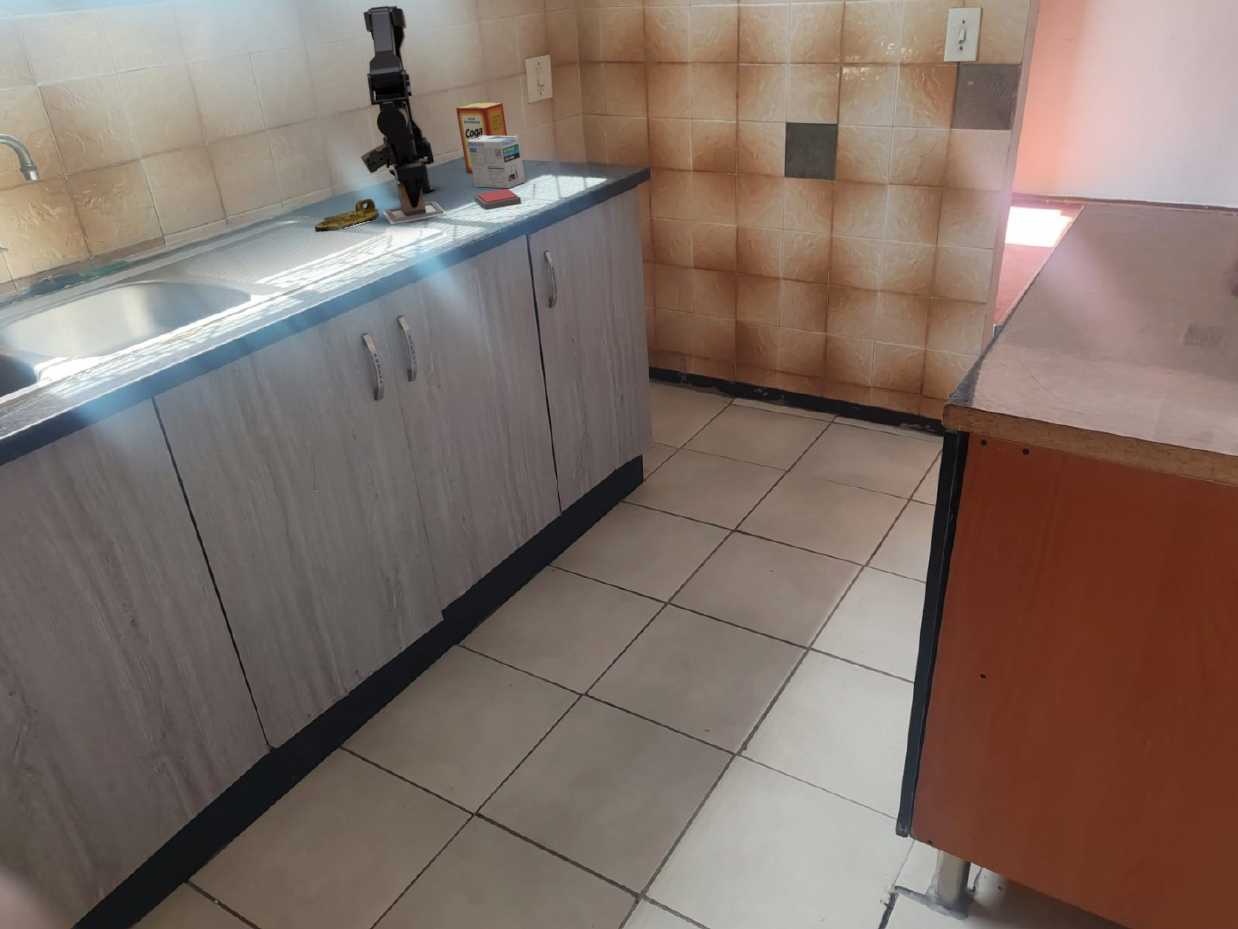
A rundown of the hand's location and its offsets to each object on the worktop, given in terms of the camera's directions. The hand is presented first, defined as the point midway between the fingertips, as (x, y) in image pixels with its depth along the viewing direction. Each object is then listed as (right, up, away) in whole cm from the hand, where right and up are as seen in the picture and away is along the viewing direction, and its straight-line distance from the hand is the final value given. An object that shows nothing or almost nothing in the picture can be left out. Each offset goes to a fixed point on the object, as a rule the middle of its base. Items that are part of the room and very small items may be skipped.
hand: (412, 205), depth 201 cm
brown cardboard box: (0, -1, +1) cm, 2 cm away
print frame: (0, -2, +1) cm, 2 cm away
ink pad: (+18, +2, +3) cm, 18 cm away
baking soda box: (+12, +18, +34) cm, 41 cm away
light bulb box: (+17, +10, +19) cm, 27 cm away
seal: (-14, -4, 0) cm, 14 cm away
